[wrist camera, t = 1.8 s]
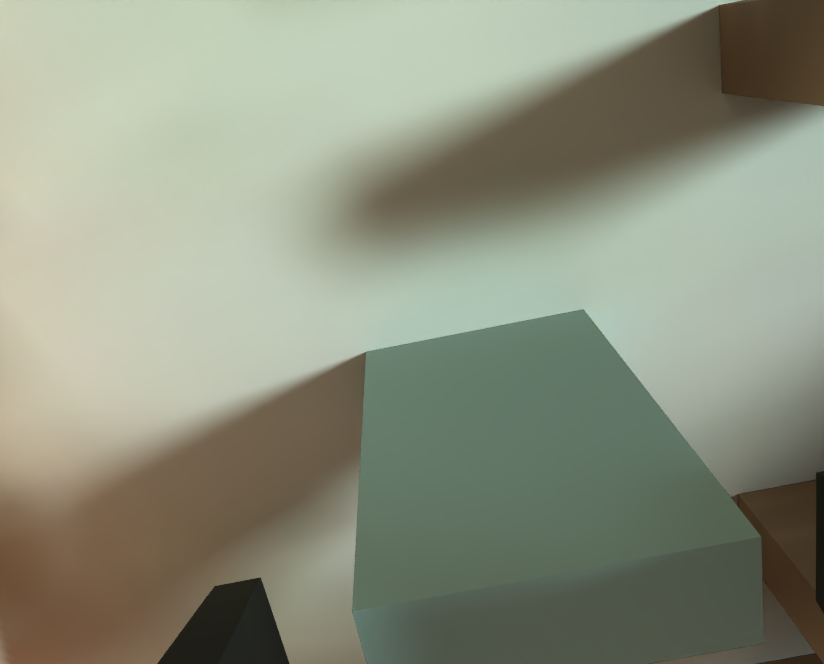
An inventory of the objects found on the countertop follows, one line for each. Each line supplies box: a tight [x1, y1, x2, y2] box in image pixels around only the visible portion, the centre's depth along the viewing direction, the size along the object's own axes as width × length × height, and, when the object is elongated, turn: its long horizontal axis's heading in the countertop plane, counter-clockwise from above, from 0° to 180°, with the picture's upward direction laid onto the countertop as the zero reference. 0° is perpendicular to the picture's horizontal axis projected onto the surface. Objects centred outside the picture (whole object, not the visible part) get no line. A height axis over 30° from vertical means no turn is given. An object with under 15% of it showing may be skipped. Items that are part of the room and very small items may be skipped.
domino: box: [352, 309, 764, 664], centre depth 13 cm, size 2×5×8 cm, turn 101°
